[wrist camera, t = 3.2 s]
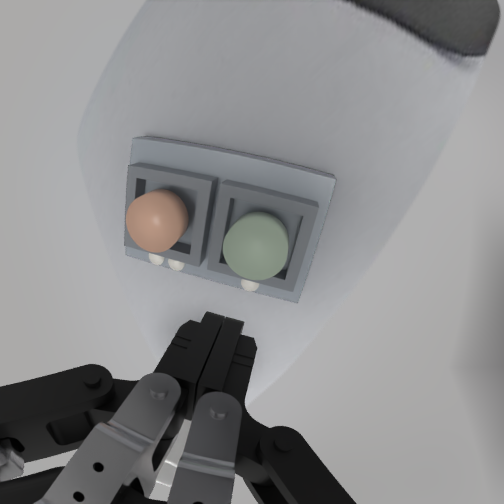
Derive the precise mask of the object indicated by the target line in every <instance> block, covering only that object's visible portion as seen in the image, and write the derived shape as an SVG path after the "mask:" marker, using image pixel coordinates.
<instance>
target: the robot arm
mask: <svg viewBox="0 0 504 504" xmlns="http://www.w3.org/2000/svg"><path fill="white" fill-rule="evenodd" d="M243 325H244V322H243V321H239V320H236V319H232V318H229V317H226V318H225V316H221V315H218V314H214V313H211V312H208V311H207V312H206V313H205V315H204V317H203V319H202V321H201V323H199V322H196V321H193V320H189V321H188V322H186V323H185V324H183V325H182V326H180V328H179V330H178V331H177V333H176V335H175V337H174V338H173V340H172V342H171V344H170V345H169V347H168V348H167V350H166V352H165V353H164V355H163V357H162V359H161V360H160V362H159V364H158V365H157V367H156V369H155V370H154V372H153V373H151V374H147V375H145V376H144V377H142V378H141V379H140V380H137V381H128V380H120V379H113V378H112V375H111V373H110V372H109V371H108V370H107V369H106V368H105V367H103V366H100V365H96V364H88V365H84V366H80V367H77V368H73V369H69V370H66V371H62V372H58V373H55V374H51V375H47V376H43V377H39V378H35V379H31V380H27V381H23V382H19V383H14V384H10V385H6V386H2V387H0V504H231V499H232V492H233V486H234V479H235V473H236V474H238V475H239V476H241V477H243V480H244V482H245V483H246V485H247V487H248V488H249V490H250V491H251V493H252V494H253V496H254V498H255V499H256V501H257V502H258V504H356V503H355V501H354V500H353V499H352V498H351V497H350V496H349V494H348V493H347V492H346V491H345V490H344V488H343V487H342V486H341V485H340V484H339V483H338V481H337V480H336V479H335V477H334V476H333V475H332V474H331V473H330V472H329V470H328V469H327V467H326V466H325V465H324V464H323V463H322V461H321V460H320V459H319V457H318V456H317V455H316V454H315V452H314V451H313V450H312V449H311V447H310V446H309V445H308V443H307V442H306V441H305V439H304V438H303V437H302V435H301V434H299V432H297V431H296V430H294V429H292V428H289V427H286V426H275V427H272V428H268V427H266V426H264V425H263V424H260V423H259V422H257V421H256V420H254V419H253V418H252V417H251V416H250V415H249V413H248V412H247V410H246V408H245V396H246V392H247V388H248V384H249V380H250V376H251V372H252V367H253V364H254V359H255V355H256V351H257V346H256V343H255V340H254V338H252V337H248V336H245V335H241V333H242V329H243ZM192 418H193V419H192ZM184 419H186V420H189V421H192V422H191V426H190V429H189V433H188V436H187V440H186V444H185V447H184V451H183V454H182V456H181V457H180V460H179V462H178V465H177V469H176V472H175V476H174V479H173V483H172V486H171V490H170V494H169V497H168V501H167V502H166V501H159V500H152V499H149V496H150V494H151V492H152V490H153V488H154V486H155V483H156V478H157V476H158V473H159V471H160V469H161V468H162V466H163V464H164V462H165V460H166V458H167V456H168V454H169V452H170V451H171V449H172V447H173V445H174V443H175V441H176V439H177V437H178V435H179V431H180V429H181V427H182V424H183V422H184ZM75 449H78V450H77V451H76V452H75V454H74V455H73V457H72V458H71V459H70V461H69V462H68V463H67V465H66V466H62V467H56V468H52V469H49V470H45V471H42V472H38V473H35V474H31V475H28V476H24V477H20V478H16V479H13V478H15V477H17V476H21V475H22V474H23V471H24V470H23V468H24V463H26V462H31V461H34V460H39V459H43V458H47V457H51V456H54V455H58V454H61V453H64V452H68V451H72V450H75ZM11 479H12V480H11Z"/></svg>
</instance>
